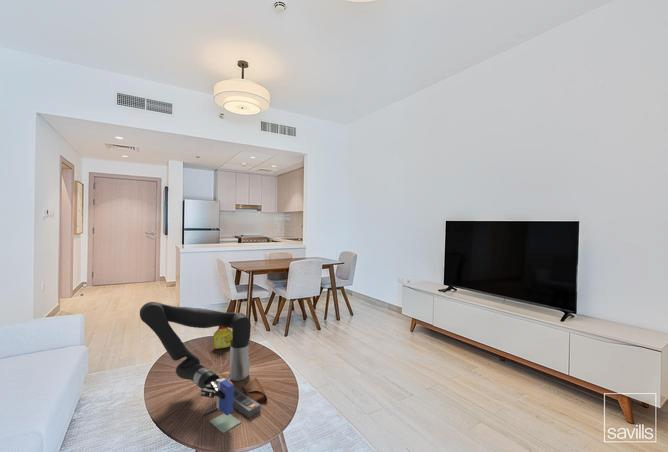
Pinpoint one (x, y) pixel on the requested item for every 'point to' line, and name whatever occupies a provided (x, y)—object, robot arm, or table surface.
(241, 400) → the power strip
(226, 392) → the walkman
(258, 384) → the sunglasses case
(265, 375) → the table surface
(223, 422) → the mat
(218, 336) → the bottle
